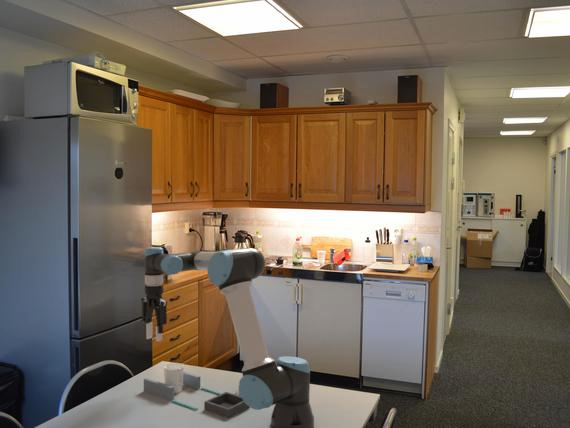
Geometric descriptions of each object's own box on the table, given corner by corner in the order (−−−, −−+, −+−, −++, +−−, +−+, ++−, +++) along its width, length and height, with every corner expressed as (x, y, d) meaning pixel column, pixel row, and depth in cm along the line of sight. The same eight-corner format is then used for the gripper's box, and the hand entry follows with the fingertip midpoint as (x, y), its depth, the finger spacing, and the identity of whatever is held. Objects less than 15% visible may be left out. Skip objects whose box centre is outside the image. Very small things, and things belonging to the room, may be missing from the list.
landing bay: (226, 396, 209) (226, 394, 209) (195, 410, 196) (195, 408, 196) (203, 388, 217) (203, 387, 217) (171, 401, 203) (171, 400, 203)
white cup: (162, 388, 217) (162, 364, 216) (181, 385, 220) (181, 361, 219) (166, 395, 210) (166, 370, 209) (185, 392, 213) (186, 367, 212)
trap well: (249, 406, 199) (249, 399, 199) (228, 417, 189) (228, 409, 189) (226, 399, 206) (226, 391, 206) (204, 409, 196) (204, 401, 196)
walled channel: (200, 388, 217) (200, 376, 217) (170, 400, 204) (170, 388, 204) (173, 379, 226) (173, 368, 226) (143, 391, 213) (143, 378, 213)
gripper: (176, 285, 217) (176, 341, 218) (146, 280, 228) (146, 333, 229) (162, 288, 211) (162, 345, 212) (132, 283, 222) (132, 337, 223)
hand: (154, 339), depth 221 cm, fingers open, 5 cm apart
